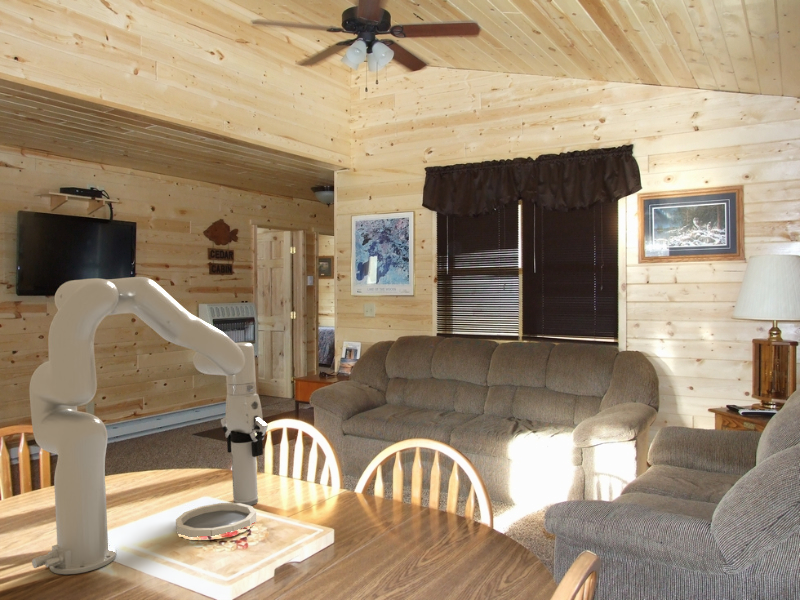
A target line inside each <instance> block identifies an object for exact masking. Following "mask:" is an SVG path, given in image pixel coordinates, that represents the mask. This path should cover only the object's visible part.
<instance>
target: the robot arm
mask: <svg viewBox="0 0 800 600" xmlns="http://www.w3.org/2000/svg"><path fill="white" fill-rule="evenodd" d="M54 305H55V307H56V309H57V312H56V313H55V315H54V316H53V318H52V320H51V322H50V326H49V332H48V337H47V338H48V360H47V361H44V362H43V363H41V364H40V365H38V367H37V368H36V369H35V370H34V372H33V374H32V375H31V378H30V382H29V402H30V416H31V424H32V425H31V426H32V433H33V434H32V435H33V437H34V440H35V442H36V444H37V445H38V448H39V447H40V448H41V449H42V450H43V451H45V452H48V453H50V454H51V453H52V454H54V455H57V462H56V466H55V470H54V477H53V479H54V481H53V483H54V484H53V486H54V487H53V488H54V501H55V502H54V503H55V505H54V507H55V521H56V522H55V524H56V526H55V528H56V544H54V545H52V546H51V550H50V551H48V553H47V554H44V555H39V556H37V557H34V558H33V559H32V560H31V564H32V567H33V568H34V569H36V568H40V567H42V566H45V567H46V568H49V570H50V571H51V573H55V574H56V575H57V574H58V575H78V574H83V573H87V572H91V571H94V570H98V569H100V568H102V567H104V566H107V565H108V564H110V563H112V562H113V561H114V560H115V559H116V558H117V552H116V553H115V552H113V551H109V550H108V545H109V539H108V538H109V537H108V536H109V535H108V513H107V493H106V491H107V487H106V473H105V472H106V471H105V469H106V468H105V467H106V465H105V464H106V453H107V447H108V438H109V437H108V430H107V427H106V425H105V423H104V422H103V420H101V419H100V418H99V417H98V416H96V415H94V414H92V413H90V412H84V411H80V410H78V407H80V406H84V405H87V404H89V402H91V401H92V400H93V399H94V397H95V396H96V393H97V388H98V382H97V381H98V379H97V371H96V370H97V369H96V358H95V335H96V331H97V329H98V328H99V325H100V324H101V322H102V321H103V320H104V319H105V318H106V317H107V316H113V315H115V316H116V315H121V314H122V315H123V314H134V315H135V316H137V317H138V319H140V320H141V321H142V322H144V323H145V324H146V325H147V326H148V327H150V328H151V329H152V330H153V331H154V332H155V333H157V335H158V336H160V337H161V338H162V339H163V340H166V341H167V342H170V343H172V344H174V345H175V346H180V347H184V348H187V349H190V350H193V351H195V352H194V354H193V358H192V361H193V362H192V363H193V366H194V367H195V369H196V370H197V371H198V372H200V373H201V374H205V375H210V376H211V375H214V376H225V378H226V399H225V416H224V417H223V418H221V419H220V424H221V426H222V430H223V432H224V436H225V438H226V446H227V449H226V451H227V453H231V439H232V438H231V431H233V432H238V433H246V434H250V436H251V438H252V440H253V442H252V443H251V444H252V456H253V457H256V458H257V457H260V456H262V455H264V454H263V453H264V447H263V440H264V439H265V436H266V434H267V430H268V424H267V423H266V422H265V421H264V419H263V417H264V416H263V409H262V405H261V399H260V396H259V393H257V389H258V388H257V381H256V380H257V378H256V361H255V359H256V357H255V348H254V347H255V346H254V345H253V344H252V343H251V342H247V341H246V342H241V341H239V342H235V341H234V340H233V339H232V338H231V337H229V336H228V335H227V334H226V333H225V332H223V331H222V330H220V329H218V328H217V327H215V326H214V325H212V324H210V323H208V322H207V321H205V320H203V319H201V318H200V317H198V316H196V315H194V314H192V313H191V312H190V311H188V310H187V309H186V308H185V307H184V306H183V305H182V304H180V303H179V302H178V301H177V300H176V299H175V298H173V296H171V295H170V294H169V293H168V292H167V291H166V290H165V289H164V288H163V287H162V286H160V284H158V283H157V282H156V281H155V280H153V279H151V278H149V277H147V276H134V277H122V278H112V279H105V278H97V277H95V278H83V279H74V280H68V281H65V282H64V283H62V284H61V285H59V287H58V288H57V290H56V292H55V294H54ZM252 429H254V430H252ZM254 433H255V434H254Z"/></svg>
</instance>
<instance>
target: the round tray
mask: <svg viewBox="0 0 800 600" xmlns="http://www.w3.org/2000/svg"><path fill="white" fill-rule="evenodd" d="M254 522H256V523H257V511H256V510H255V508H254V507H253V505H251V506H250V505H246V504H242V503H234V502H219V503H213V504H207V505H202V506H198V507H195V508H193V509H191V510H190V509H189V510H187V511H185V512H183V513H182V514H181V515H179V516H178V517H176V519H175V529H176V528H177V531H176V533H177V532H178V534H181V535H185V536H188V537H197V536H198V537H199V536H215V535H219V534H223V533H226V532H231V531H235V530H238V529H241V528H244V527H247V526H250V525H251V524H252V523H254Z"/></svg>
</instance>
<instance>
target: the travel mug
mask: <svg viewBox="0 0 800 600" xmlns="http://www.w3.org/2000/svg"><path fill="white" fill-rule="evenodd" d="M252 430H254V429H252ZM254 434H255V435H256V433H254ZM231 438H232V439H231V452H230V453H231V470H232V471H231V472H232V473H231V474H232V475H231V477H232V495H233V497H232V498H233V500H232V501H233V502H232V503H242V504H246V505H250V506H254V505H256V504H257V503H258V502H259V498H258V471H257V470H258V469H257V457H253V456H252V444H251V443H252V442H253V440H252V438H251V436H250V434H246V433H238V432H233V431H231Z"/></svg>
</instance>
